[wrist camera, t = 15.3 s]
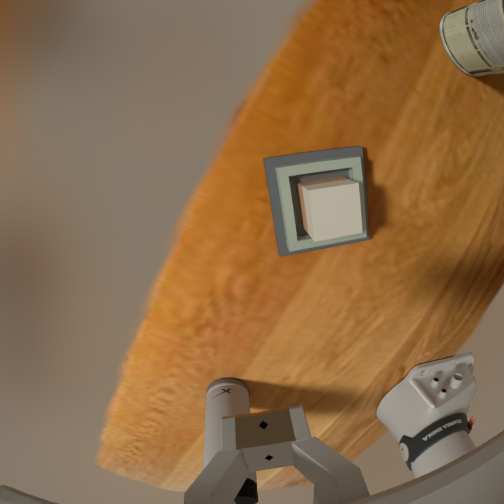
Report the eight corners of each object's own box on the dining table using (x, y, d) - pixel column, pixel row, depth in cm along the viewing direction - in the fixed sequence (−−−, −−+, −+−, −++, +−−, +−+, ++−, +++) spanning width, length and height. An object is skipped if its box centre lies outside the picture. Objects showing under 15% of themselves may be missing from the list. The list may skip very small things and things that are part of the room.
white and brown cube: (340, 176, 32) (358, 182, 27) (345, 219, 34) (362, 232, 29) (296, 182, 32) (308, 190, 27) (303, 227, 34) (314, 241, 29)
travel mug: (217, 370, 41) (215, 495, 23) (256, 386, 43) (270, 504, 24) (198, 394, 43) (190, 510, 24) (235, 408, 45) (240, 519, 26)
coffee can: (454, 1, 24) (517, -23, 11) (495, 54, 27) (561, 47, 14) (427, 33, 27) (499, 8, 13) (473, 90, 29) (548, 89, 16)
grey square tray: (358, 146, 32) (367, 146, 29) (366, 236, 36) (374, 243, 33) (263, 158, 32) (265, 159, 29) (278, 253, 36) (281, 262, 33)
